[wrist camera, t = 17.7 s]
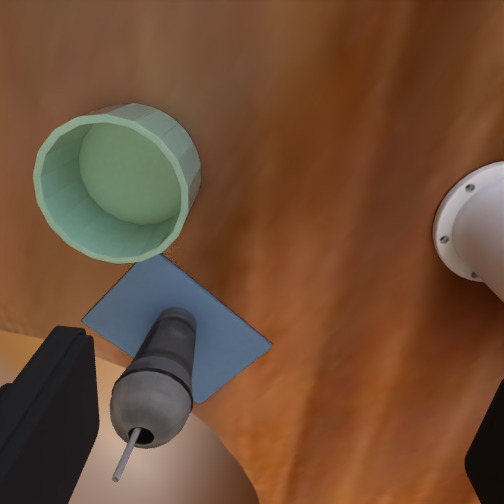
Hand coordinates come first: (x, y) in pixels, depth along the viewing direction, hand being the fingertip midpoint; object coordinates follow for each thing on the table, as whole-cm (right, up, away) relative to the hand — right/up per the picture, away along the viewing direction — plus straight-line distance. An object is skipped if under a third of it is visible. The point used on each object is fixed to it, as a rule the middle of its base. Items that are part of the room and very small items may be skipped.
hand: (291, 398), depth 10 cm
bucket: (-12, +11, +31) cm, 35 cm away
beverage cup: (-9, -5, +38) cm, 39 cm away
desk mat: (-9, -6, +39) cm, 40 cm away
